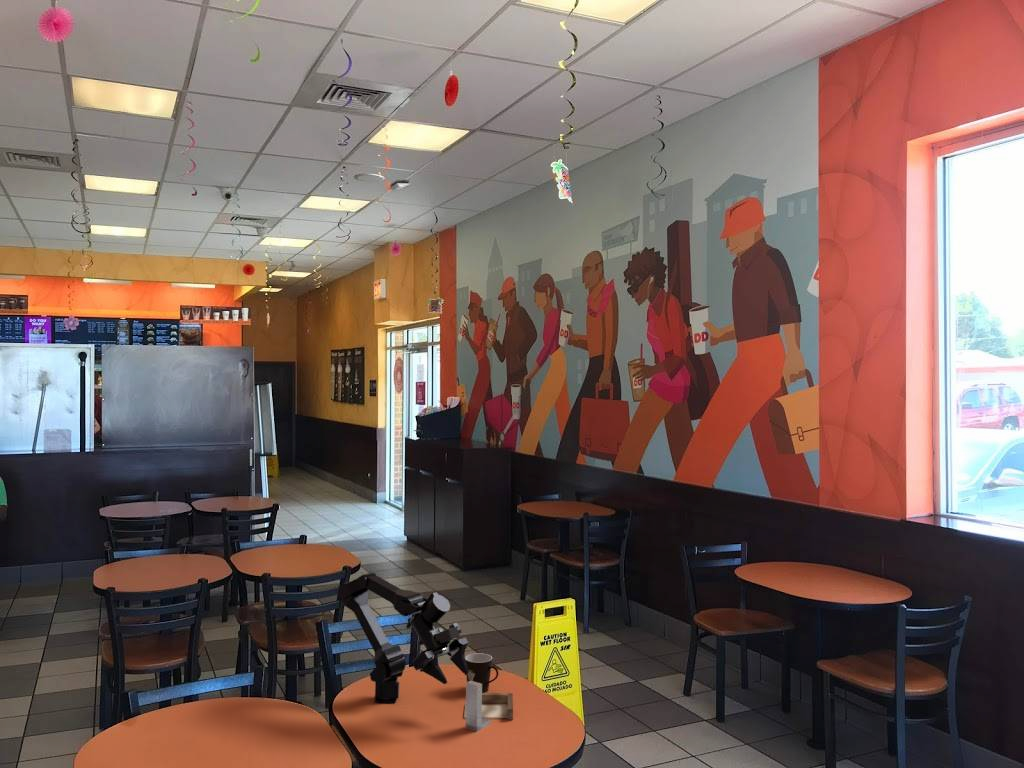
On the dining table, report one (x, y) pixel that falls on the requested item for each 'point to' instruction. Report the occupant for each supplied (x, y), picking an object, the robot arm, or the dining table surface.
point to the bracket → (474, 707)
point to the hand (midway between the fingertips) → (456, 678)
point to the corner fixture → (496, 706)
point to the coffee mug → (480, 669)
